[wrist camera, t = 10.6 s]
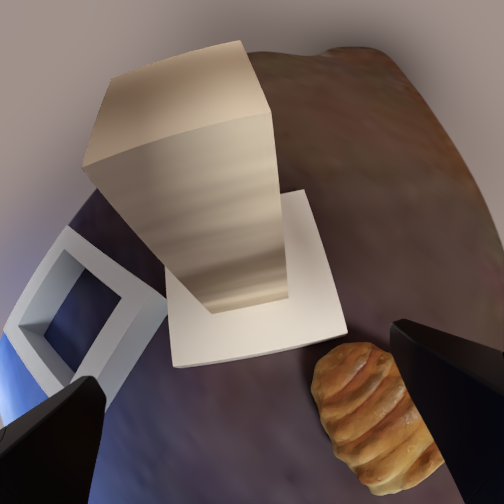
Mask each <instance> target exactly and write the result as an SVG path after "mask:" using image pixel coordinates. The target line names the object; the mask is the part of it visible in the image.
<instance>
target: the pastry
mask: <svg viewBox="0 0 504 504" xmlns="http://www.w3.org/2000/svg"><path fill="white" fill-rule="evenodd" d="M311 392H312V395H313V397H314V400H315V402H316V404H317V406H318V409H319V414H320V421H321V423H322V425H323V427H324V429H325V431H326V432H327V434H328V435H329V438H330V440H331V442H332V449H333V452H334V455H335V456H336V457H337V458H339V459H341V460H342V461H344V462H345V463H346V464H347V465H348V466H349V467H350V469H351V470H352V471H353V472H354V473H355V474H356V475H357V476H358V479H359V481H360V482H361V483H362V484H365V485H367V486H368V487H369V490H370V492H371V493H372V494H374V495H386V494H389V493H391V494H394V493H396V492H399V491H401V490H404V489H409V488H411V487H414V486H415V485H417V484H418V483H420V482H421V481H422V480H424V479H425V478H427V477H428V476H429V475H430V474H431V473H433V472H434V471H435V470H436V469H437V468H438V467H439V466H440V465H441V464H442V463H443V462H444V459H443V457H442V455H441V453H440V451H439V449H438V447H437V445H436V443H435V442H434V440H433V438H432V436H431V434H430V432H429V430H428V428H427V427H426V425H425V423H424V421H423V419H422V417H421V416H420V414H419V412H418V410H417V408H416V407H415V405H414V403H413V401H412V399H411V397H410V396H409V394H408V391H407V389H406V387H405V384H404V382H403V380H402V377H401V375H400V373H399V370H398V368H397V366H396V363H395V361H394V359H393V356H392V354H390V353H388V352H385V351H383V350H381V349H380V348H378V347H377V346H375V345H374V344H372V343H369V342H355V343H344V344H341V345H339V346H337V347H336V348H334V349H332V350H331V351H330V352H329V353H328V354H327V355H325V356H324V357H322V358H321V359H320V360H319V361H318V362H317V364H316V366H315V370H314V375H313V381H312V385H311Z"/></svg>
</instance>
